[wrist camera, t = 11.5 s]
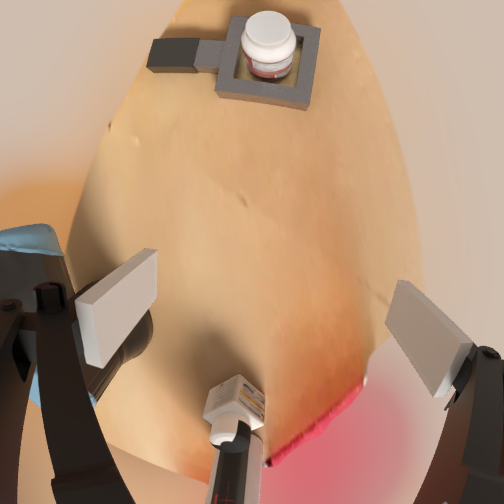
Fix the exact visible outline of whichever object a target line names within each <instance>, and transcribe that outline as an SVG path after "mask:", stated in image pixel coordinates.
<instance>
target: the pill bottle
mask: <svg viewBox="0 0 504 504" xmlns="http://www.w3.org/2000/svg"><path fill="white" fill-rule="evenodd" d="M241 43H242V48H243V51H244V55H245V59H246V63H247V67H248V69H249V71H250V72H251V73H252V74H253V75H254V76H255V77H257V78H259V79H261V80H266V81H274V80H278V79H281V78H283V77H284V76H286V75H287V74H288V73H289V71H290V69H291V67H292V63H293V57H294V52H295V46H296V36H295V34H294V31H293V30H292V28H291V25H290V22H289V20H288V19H287V18H286V17H285V16H284V15H282V14H280V13H278V12H275V11H261V12H258V13H256V14H254V15H252V16H251V17H250V18H249V19H248V21H247V22H246V26H245V29H244V31H243V33H242V37H241Z"/></svg>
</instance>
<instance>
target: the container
mask: <svg viewBox="0 0 504 504" xmlns="http://www.w3.org/2000/svg"><path fill="white" fill-rule="evenodd" d="M264 416H265V396H264V395H263V394H262V393H261V392H260V391H259V390H257V389H256V388H255V387H254V386H253V385H252V384H251V383H250V382H248V381H247V380H246V379H245V378H244V377H243V376H242V375H241V374H237V375H235V376H234V377H232V378H230V379H228V380H226V381H225V382H223V383H221V384H219V385H217V386H215V387H213V388H212V389H210V390H209V394H208V397H207V401H206V405H205V408H204V412H203V416H202V417H203V418H204V419H205V420H206V421H208V422H209V423H210V424H212V429H211V433H210V437H209V440H210V443H211V444H212V445H213V446H214V447H215V448H216V449H218V450H220V451H223V452H228V453H238V452H242V451H244V450H246V449H247V448H248V447H249V446H250V441H251V431H252V430H254V429H257V428H259V427H261V426H263V425H264Z"/></svg>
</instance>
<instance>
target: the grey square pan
mask: <svg viewBox="0 0 504 504" xmlns="http://www.w3.org/2000/svg"><path fill="white" fill-rule="evenodd" d="M249 18H250V17H238V16H232V17H231V21H230V25H229V29H228V33H227V37H226V41H220V40H200V38H166V39H154V40H153V43H152V47H151V50H150V54H149V58H148V61H147V65H146V68H148V69H149V70H151V71H152V72H153V73H198V72H203V73H218V77H217V82H216V86H215V92H216V93H217V95H218V96H219V97H220V98H226V99H235V100H243V101H251V102H258V103H265V104H271V105H277V106H283V107H288V108H293V109H298V110H303V111H306V110H307V108H308V106H309V104H310V98H311V92H312V86H313V79H314V73H315V66H316V59H317V52H318V45H319V38H320V31H321V28H317V27H312V26H307V25H302V24H296V23H290V25H291V28H292V30H293V31H294V34H295V36H296V46H295V52H294V57H293V63H292V67H291V69H290V71H289V73H288V74H287V75H286V76H284V77H283V78H281V79H278V80H274V81H266V80H261V79H259V78H257V77H255V76H254V75H253V74H252V73H251V72H250V71H249V69H248V67H247V63H246V59H245V55H244V51H243V48H242V43H241V37H242V33H243V31H244V29H245V26H246V22H247V21H248V19H249Z"/></svg>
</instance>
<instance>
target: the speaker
mask: <svg viewBox="0 0 504 504" xmlns="http://www.w3.org/2000/svg"><path fill="white" fill-rule="evenodd" d="M262 454H263V444H262V441H261V440H260V439H259V438H258V437H257V436H256V435H254V434H251V441H250V446H249V447H248V448H247V449H246V450H244V451H242V452H238V453H228V452H223V451H220V450H218V449H215V455H214V460H213V465H212V470H211V476H210V481H209V486H208V492H207V497H206V502H205V504H260V485H261V468H262Z"/></svg>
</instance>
